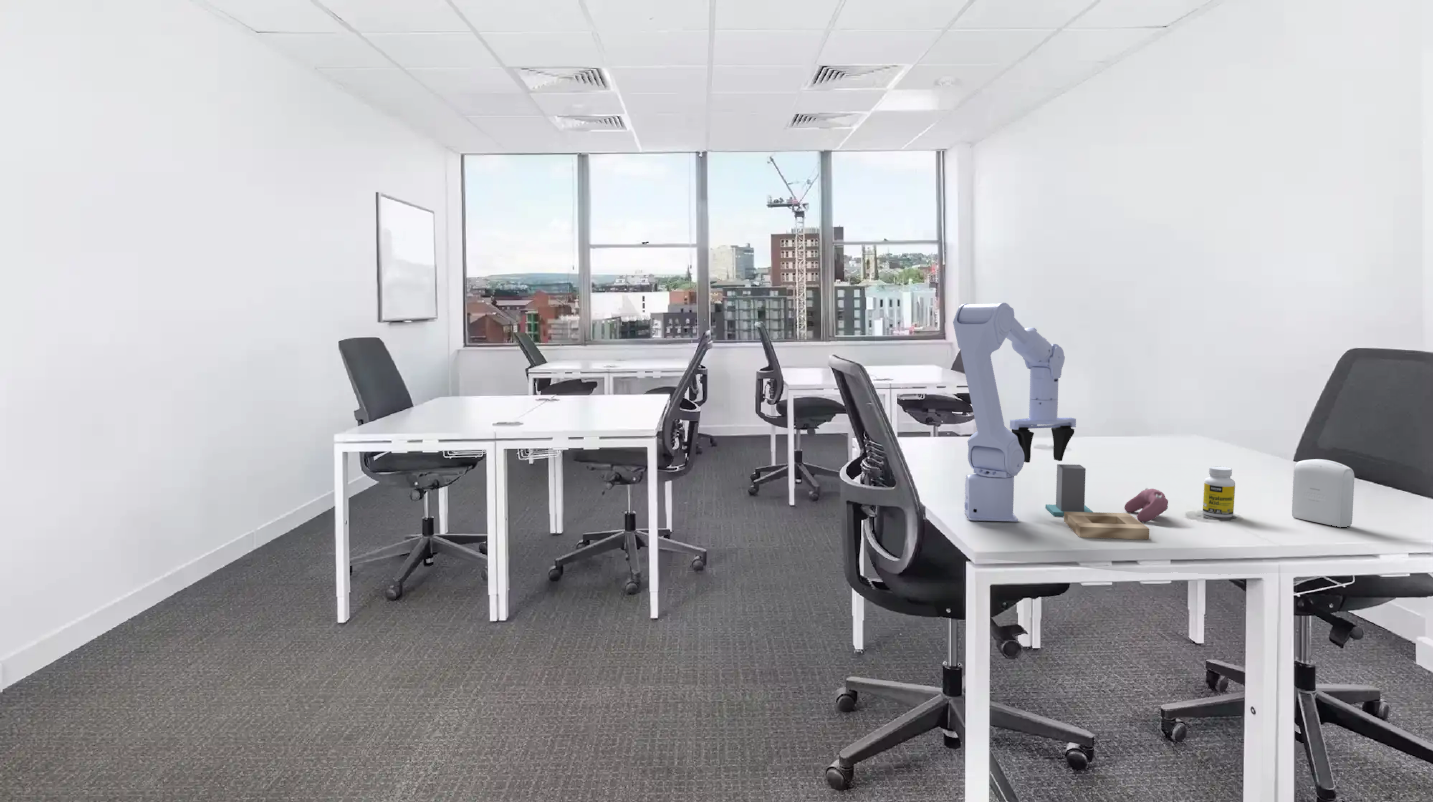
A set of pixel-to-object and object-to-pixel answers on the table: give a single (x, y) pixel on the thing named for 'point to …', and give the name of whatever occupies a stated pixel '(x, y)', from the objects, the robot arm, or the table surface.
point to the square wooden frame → (1106, 525)
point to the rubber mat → (1057, 512)
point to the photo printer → (1323, 492)
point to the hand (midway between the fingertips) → (1041, 461)
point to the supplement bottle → (1219, 492)
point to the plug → (1070, 487)
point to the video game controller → (1148, 504)
